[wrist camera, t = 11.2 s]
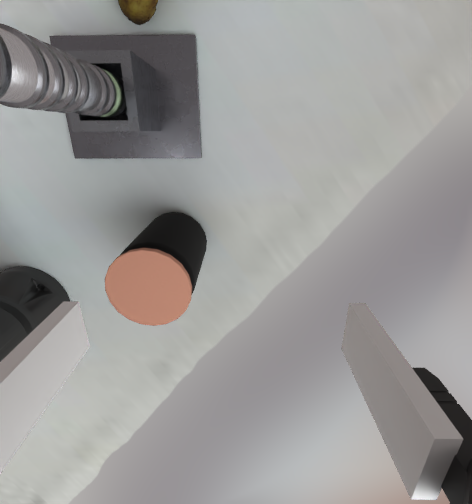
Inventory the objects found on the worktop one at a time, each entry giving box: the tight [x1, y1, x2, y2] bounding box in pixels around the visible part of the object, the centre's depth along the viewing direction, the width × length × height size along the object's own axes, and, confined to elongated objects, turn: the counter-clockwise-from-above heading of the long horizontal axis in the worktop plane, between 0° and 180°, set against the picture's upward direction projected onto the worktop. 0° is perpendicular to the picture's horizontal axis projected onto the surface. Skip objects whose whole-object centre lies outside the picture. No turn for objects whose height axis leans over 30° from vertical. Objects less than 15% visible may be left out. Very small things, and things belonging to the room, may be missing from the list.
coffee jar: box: [105, 212, 207, 326], centre depth 43 cm, size 11×11×18 cm
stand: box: [50, 35, 202, 158], centre depth 38 cm, size 20×16×11 cm
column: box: [0, 24, 127, 118], centre depth 26 cm, size 5×5×22 cm
